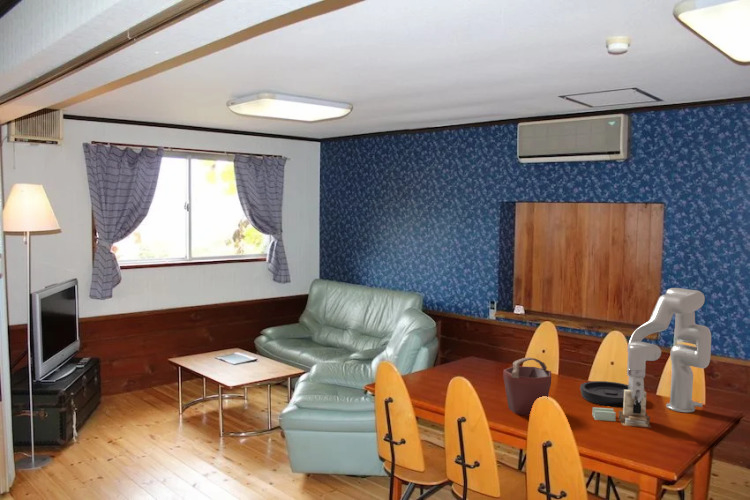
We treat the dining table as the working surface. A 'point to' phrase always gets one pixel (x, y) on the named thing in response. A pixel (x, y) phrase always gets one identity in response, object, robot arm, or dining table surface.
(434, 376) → the dining table surface
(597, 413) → the slotted stand
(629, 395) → the birch board
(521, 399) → the bucket
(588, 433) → the dining table surface
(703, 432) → the dining table surface
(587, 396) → the round tray
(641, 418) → the offcut stack
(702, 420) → the dining table surface
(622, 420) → the rack
